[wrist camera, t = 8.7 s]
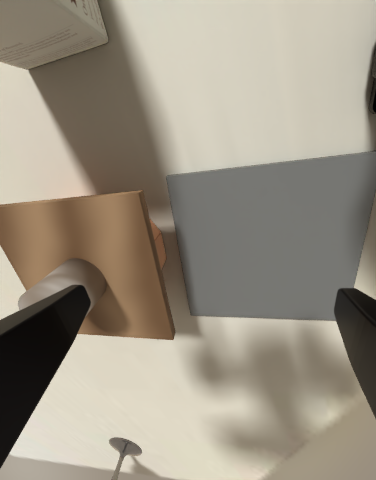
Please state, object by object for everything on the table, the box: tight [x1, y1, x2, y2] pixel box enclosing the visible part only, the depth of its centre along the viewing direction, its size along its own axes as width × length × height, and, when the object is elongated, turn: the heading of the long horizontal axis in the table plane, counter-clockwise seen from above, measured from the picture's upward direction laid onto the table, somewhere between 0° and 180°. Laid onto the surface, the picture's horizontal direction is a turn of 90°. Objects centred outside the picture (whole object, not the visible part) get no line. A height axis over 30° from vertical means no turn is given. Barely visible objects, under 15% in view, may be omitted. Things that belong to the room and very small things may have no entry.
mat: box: [166, 151, 376, 321], centre depth 19 cm, size 15×15×1 cm
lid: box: [0, 190, 175, 340], centre depth 16 cm, size 13×13×5 cm
